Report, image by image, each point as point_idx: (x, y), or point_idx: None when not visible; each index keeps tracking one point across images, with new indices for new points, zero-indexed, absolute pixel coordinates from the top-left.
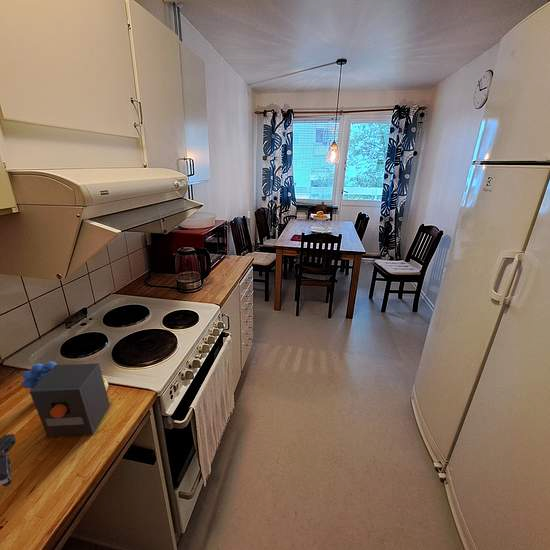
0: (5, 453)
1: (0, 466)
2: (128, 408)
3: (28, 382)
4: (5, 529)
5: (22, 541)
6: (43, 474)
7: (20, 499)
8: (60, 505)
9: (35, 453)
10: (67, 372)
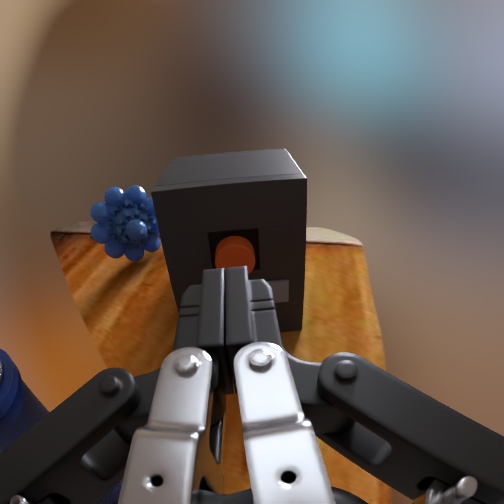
0: (352, 358)
1: (434, 441)
2: (336, 276)
3: (101, 228)
4: None
5: None
6: None
7: (230, 484)
8: (363, 487)
9: None
10: (221, 161)
